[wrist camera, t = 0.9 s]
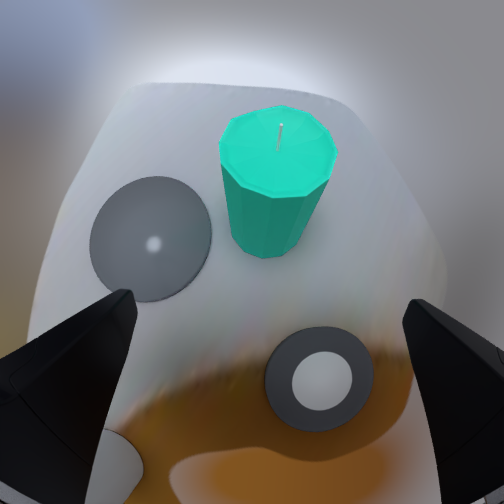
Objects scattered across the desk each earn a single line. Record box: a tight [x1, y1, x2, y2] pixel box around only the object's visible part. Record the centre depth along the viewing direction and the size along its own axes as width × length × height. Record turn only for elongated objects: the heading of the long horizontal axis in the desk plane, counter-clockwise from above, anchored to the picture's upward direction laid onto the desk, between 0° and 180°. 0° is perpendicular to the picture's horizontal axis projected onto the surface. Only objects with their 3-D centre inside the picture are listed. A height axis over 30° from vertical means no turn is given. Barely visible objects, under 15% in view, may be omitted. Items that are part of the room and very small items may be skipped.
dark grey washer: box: [265, 327, 373, 432], centre depth 19 cm, size 8×8×2 cm
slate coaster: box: [90, 176, 211, 302], centre depth 22 cm, size 11×11×1 cm
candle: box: [219, 105, 338, 258], centre depth 17 cm, size 6×6×12 cm
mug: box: [85, 429, 144, 504], centre depth 11 cm, size 10×7×12 cm, turn 63°
